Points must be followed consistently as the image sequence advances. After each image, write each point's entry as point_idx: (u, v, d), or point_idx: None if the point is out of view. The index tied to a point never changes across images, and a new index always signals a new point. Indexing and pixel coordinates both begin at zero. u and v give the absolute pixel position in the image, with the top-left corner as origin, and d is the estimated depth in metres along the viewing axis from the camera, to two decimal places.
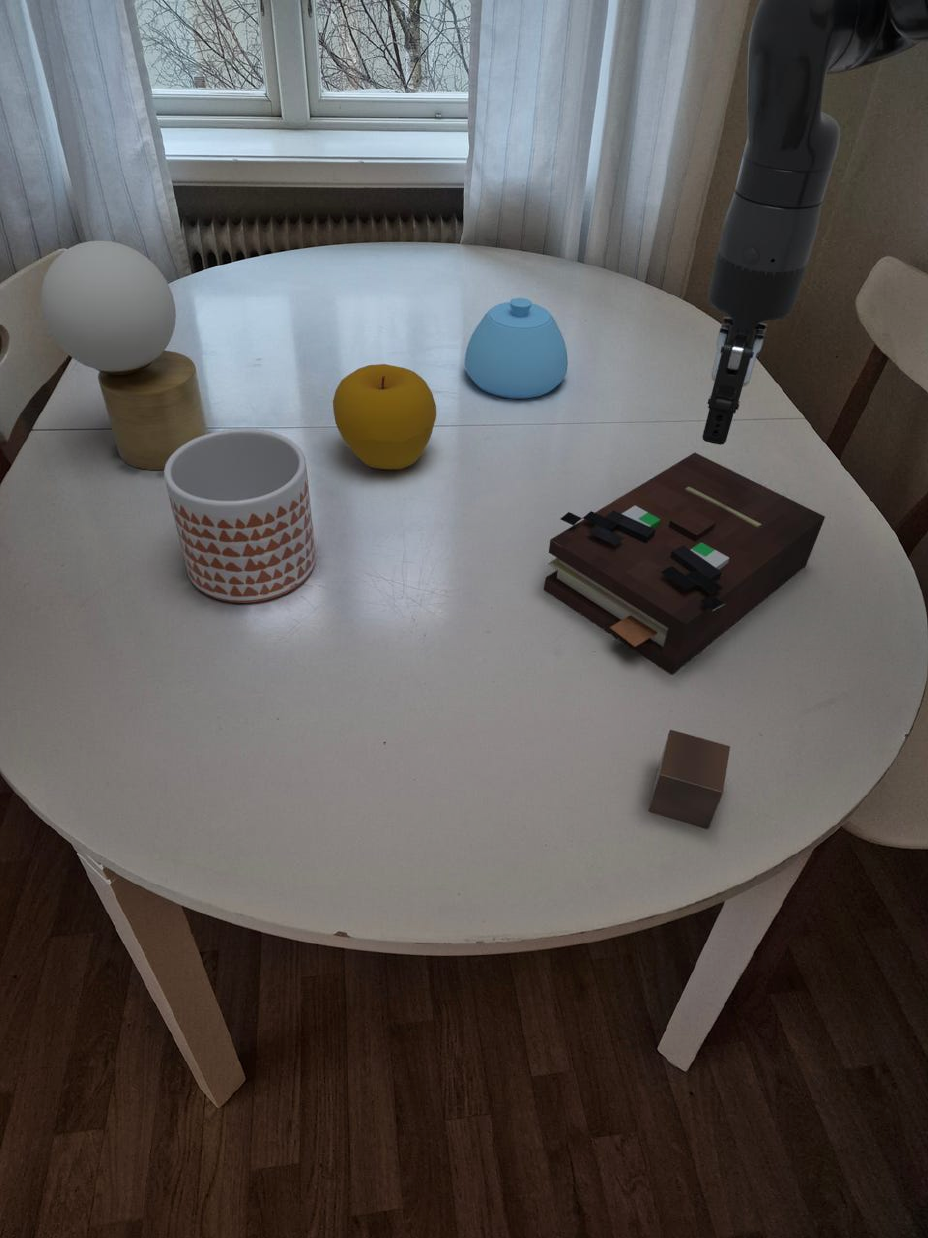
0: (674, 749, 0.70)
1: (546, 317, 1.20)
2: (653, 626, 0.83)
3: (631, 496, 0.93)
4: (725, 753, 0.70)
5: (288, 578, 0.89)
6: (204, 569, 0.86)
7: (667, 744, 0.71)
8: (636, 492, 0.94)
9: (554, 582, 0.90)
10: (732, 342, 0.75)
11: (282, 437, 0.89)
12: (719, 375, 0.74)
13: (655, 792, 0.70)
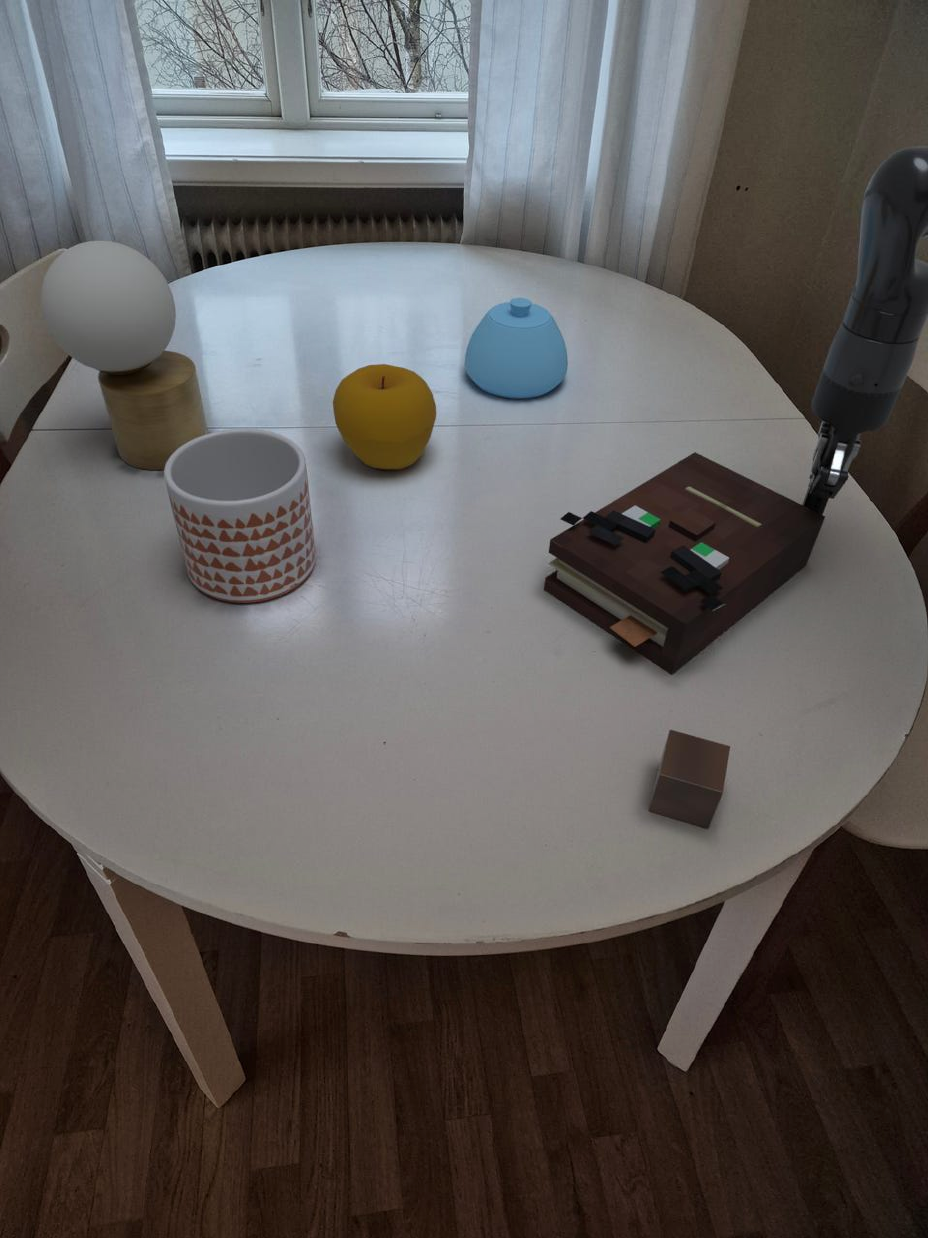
0: (674, 749, 0.70)
1: (546, 317, 1.20)
2: (653, 626, 0.83)
3: (631, 496, 0.93)
4: (725, 753, 0.70)
5: (288, 578, 0.89)
6: (204, 569, 0.86)
7: (667, 744, 0.71)
8: (636, 492, 0.94)
9: (554, 582, 0.90)
10: (832, 455, 0.86)
11: (282, 437, 0.89)
12: (818, 485, 0.88)
13: (655, 792, 0.70)
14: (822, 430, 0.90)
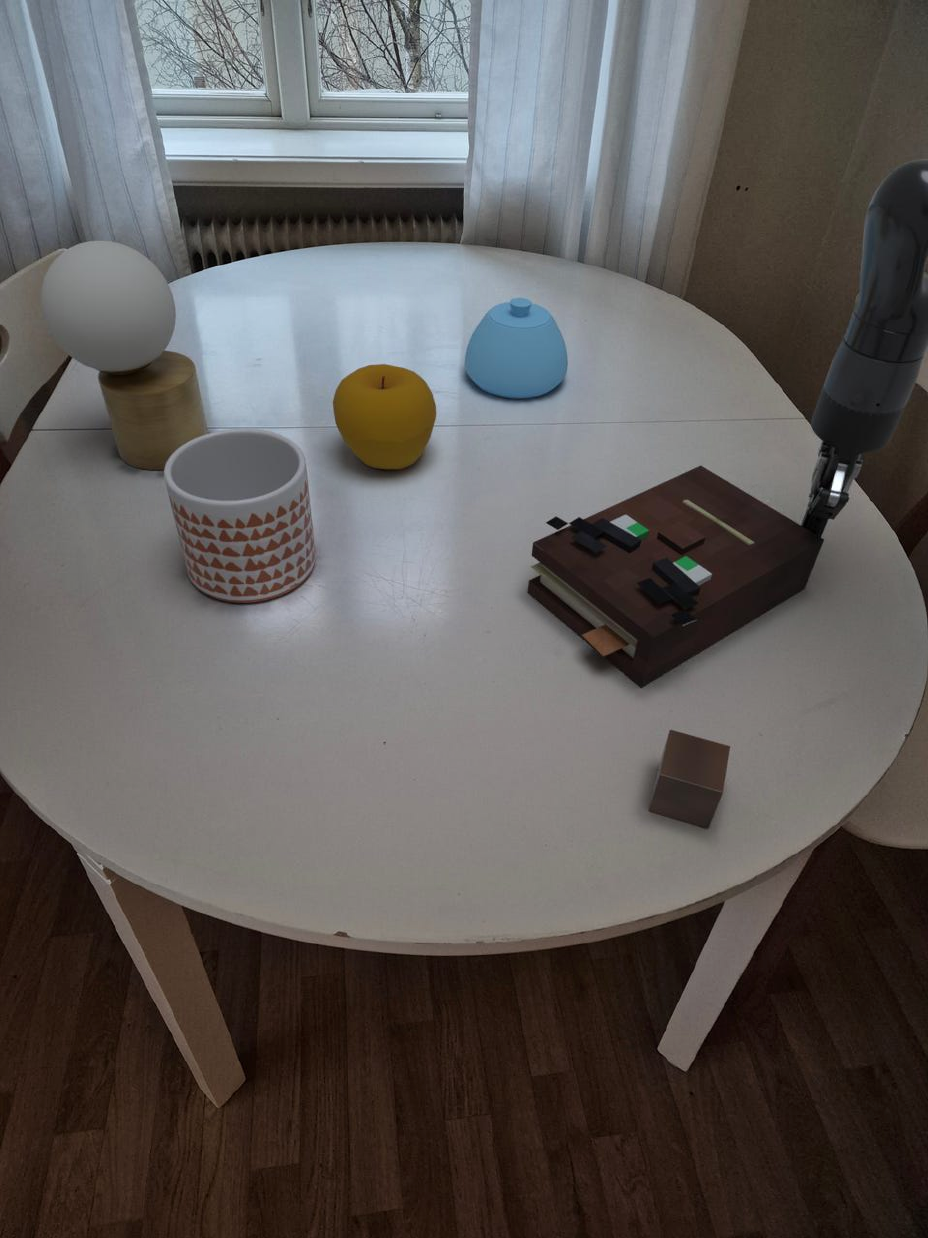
0: (674, 749, 0.70)
1: (546, 317, 1.20)
2: (625, 637, 0.81)
3: (625, 505, 0.92)
4: (725, 753, 0.70)
5: (288, 578, 0.89)
6: (204, 569, 0.86)
7: (667, 744, 0.71)
8: (631, 501, 0.93)
9: (536, 586, 0.90)
10: (832, 475, 0.83)
11: (282, 437, 0.89)
12: (817, 506, 0.85)
13: (655, 792, 0.70)
14: (822, 449, 0.87)
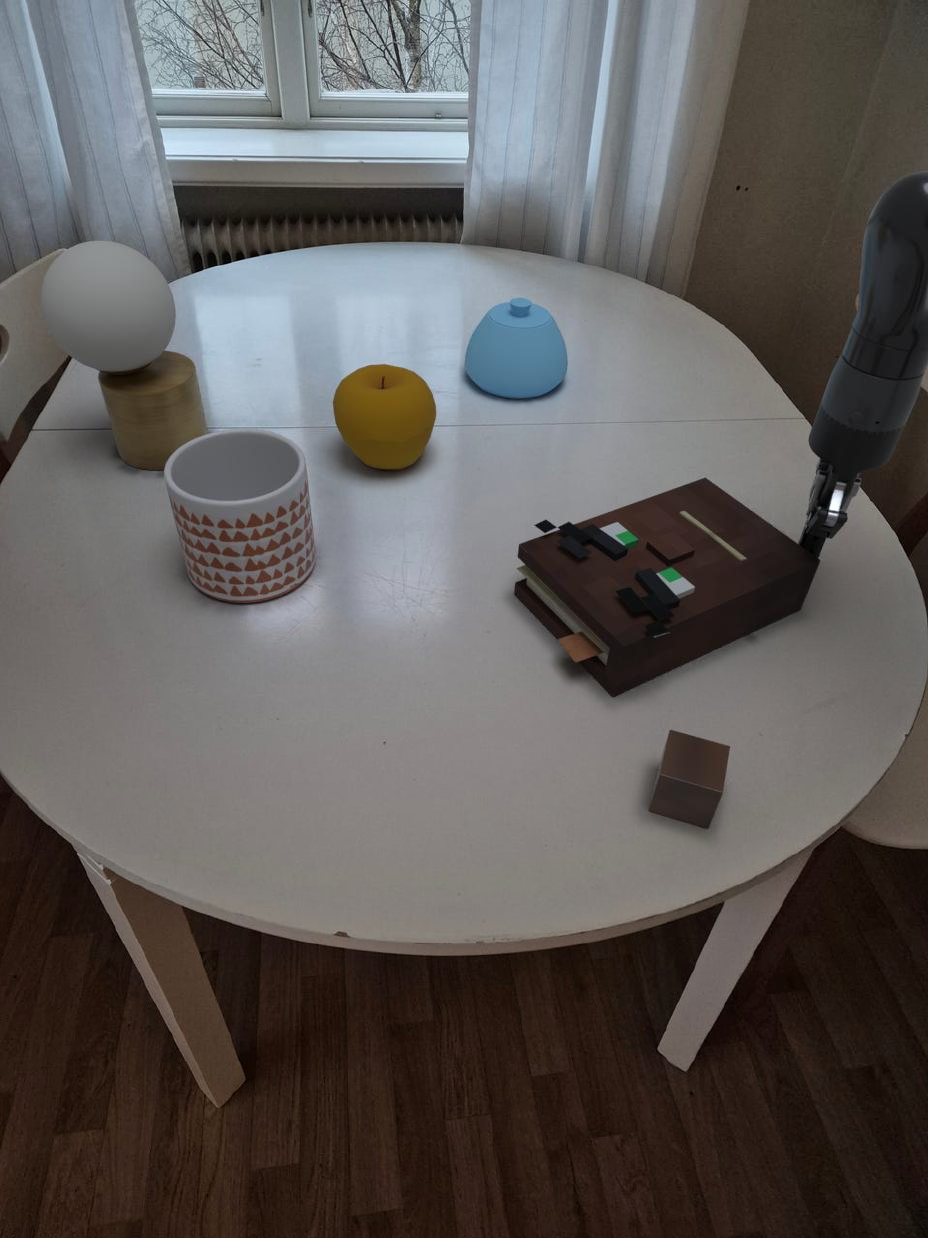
0: (674, 749, 0.70)
1: (546, 317, 1.20)
2: (599, 645, 0.81)
3: (619, 513, 0.91)
4: (725, 753, 0.70)
5: (288, 578, 0.89)
6: (204, 569, 0.86)
7: (667, 744, 0.71)
8: (626, 509, 0.92)
9: (522, 588, 0.89)
10: (830, 494, 0.81)
11: (282, 437, 0.89)
12: (815, 526, 0.83)
13: (655, 792, 0.70)
14: (819, 466, 0.84)
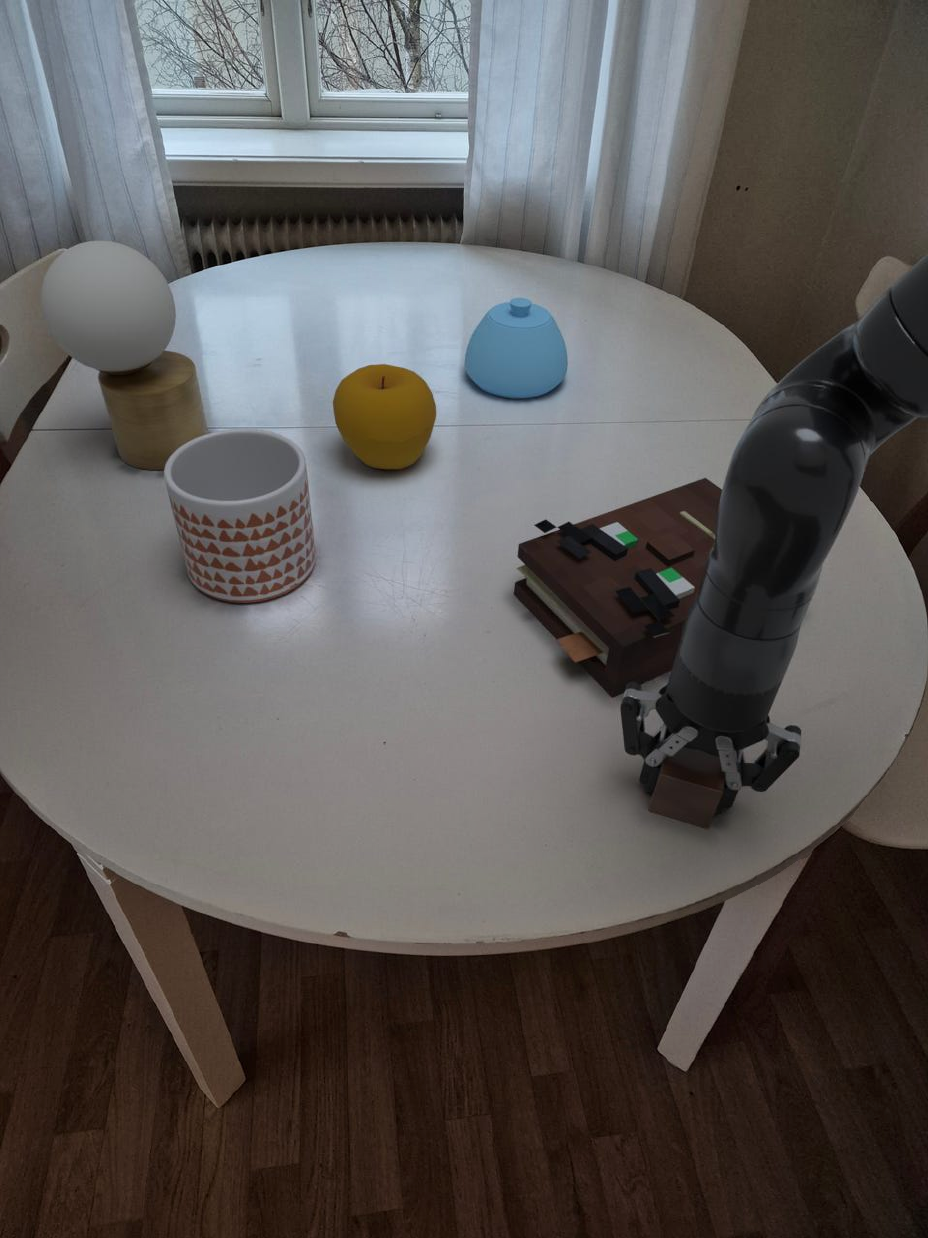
0: None
1: (546, 317, 1.20)
2: (599, 645, 0.81)
3: (619, 513, 0.91)
4: None
5: (288, 578, 0.89)
6: (204, 569, 0.86)
7: None
8: (626, 509, 0.92)
9: (522, 588, 0.89)
10: None
11: (282, 437, 0.89)
12: None
13: (655, 792, 0.70)
14: None
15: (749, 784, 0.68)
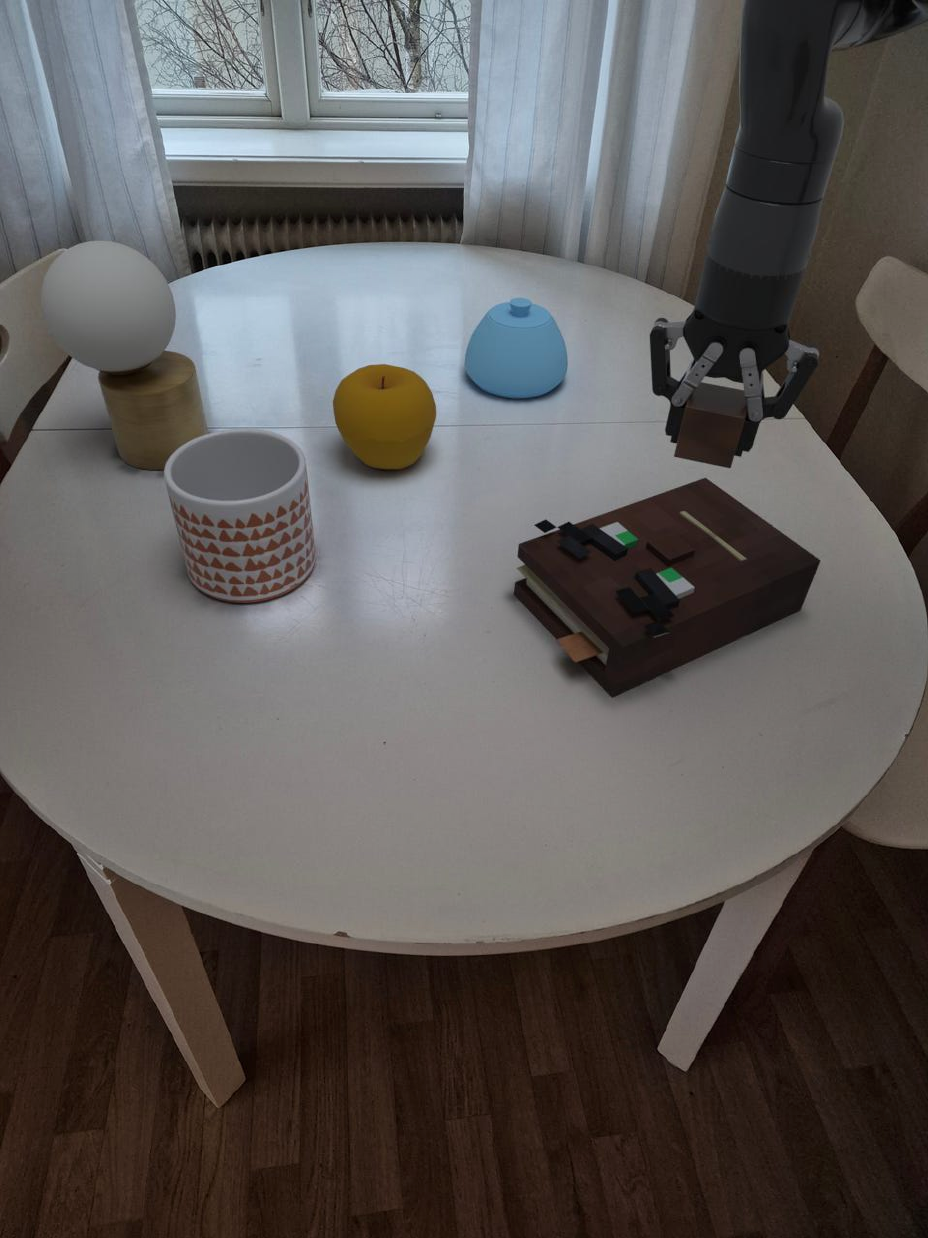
0: (699, 392, 0.75)
1: (546, 317, 1.20)
2: (599, 645, 0.81)
3: (619, 513, 0.91)
4: None
5: (288, 578, 0.89)
6: (204, 569, 0.86)
7: None
8: (626, 509, 0.92)
9: (522, 588, 0.89)
10: None
11: (282, 437, 0.89)
12: None
13: (681, 430, 0.75)
14: None
15: (769, 414, 0.73)
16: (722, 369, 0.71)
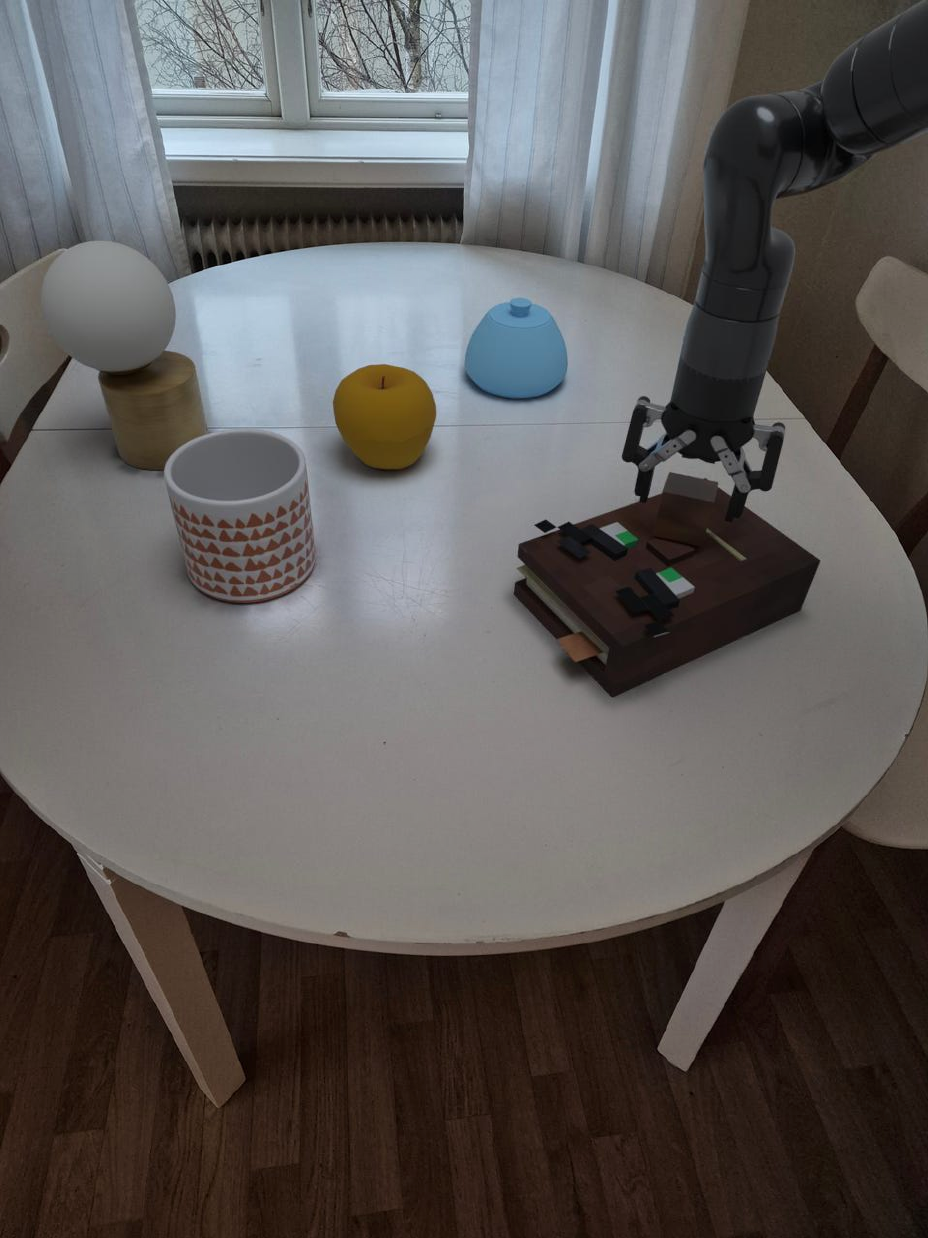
0: (674, 480, 0.86)
1: (546, 317, 1.20)
2: (599, 644, 0.81)
3: (619, 513, 0.91)
4: (714, 484, 0.86)
5: (288, 578, 0.89)
6: (204, 569, 0.86)
7: (667, 478, 0.86)
8: (626, 509, 0.92)
9: (522, 588, 0.89)
10: None
11: (282, 437, 0.89)
12: None
13: (658, 512, 0.85)
14: None
15: (756, 487, 0.81)
16: (696, 452, 0.81)
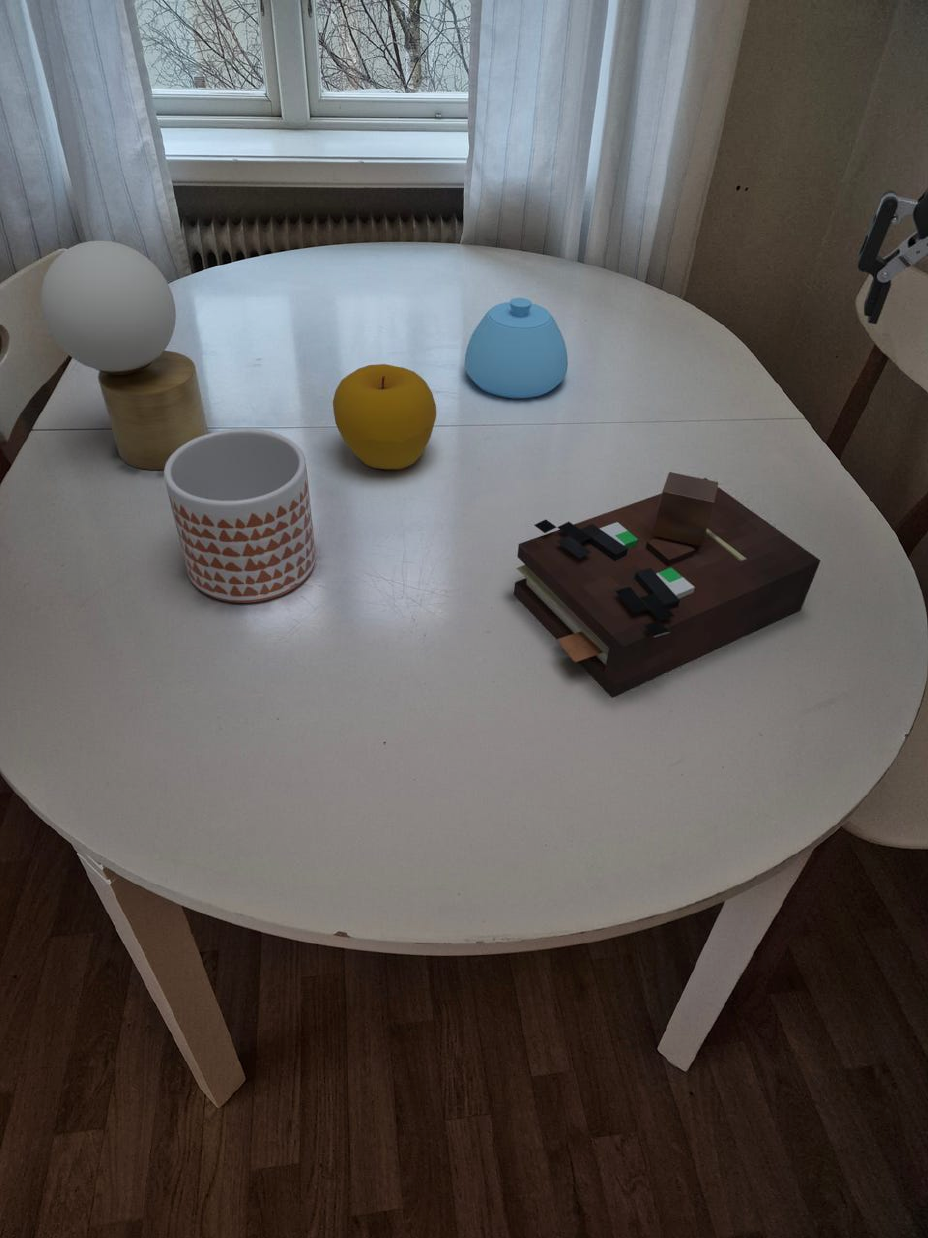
0: (674, 480, 0.86)
1: (546, 317, 1.20)
2: (599, 645, 0.81)
3: (619, 513, 0.91)
4: (714, 484, 0.86)
5: (288, 578, 0.89)
6: (204, 569, 0.86)
7: (667, 478, 0.86)
8: (626, 509, 0.92)
9: (522, 588, 0.89)
10: None
11: (282, 437, 0.89)
12: (871, 222, 0.74)
13: (658, 512, 0.85)
14: None
15: None
16: None
